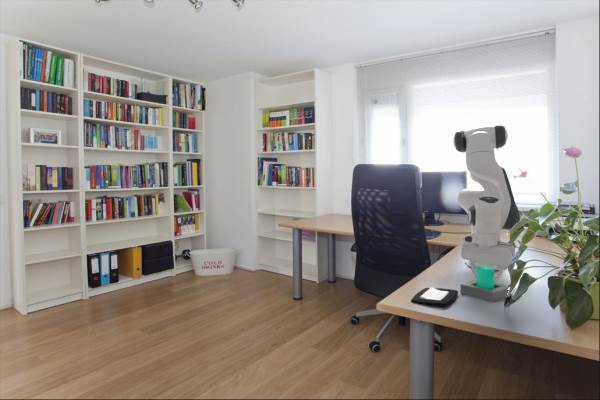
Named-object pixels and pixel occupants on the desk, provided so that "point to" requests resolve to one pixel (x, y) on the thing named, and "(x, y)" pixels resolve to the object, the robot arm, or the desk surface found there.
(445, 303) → the light switch
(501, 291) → the socket block
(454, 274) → the desk surface
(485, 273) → the candle
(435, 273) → the desk surface
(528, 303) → the desk surface
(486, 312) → the desk surface
